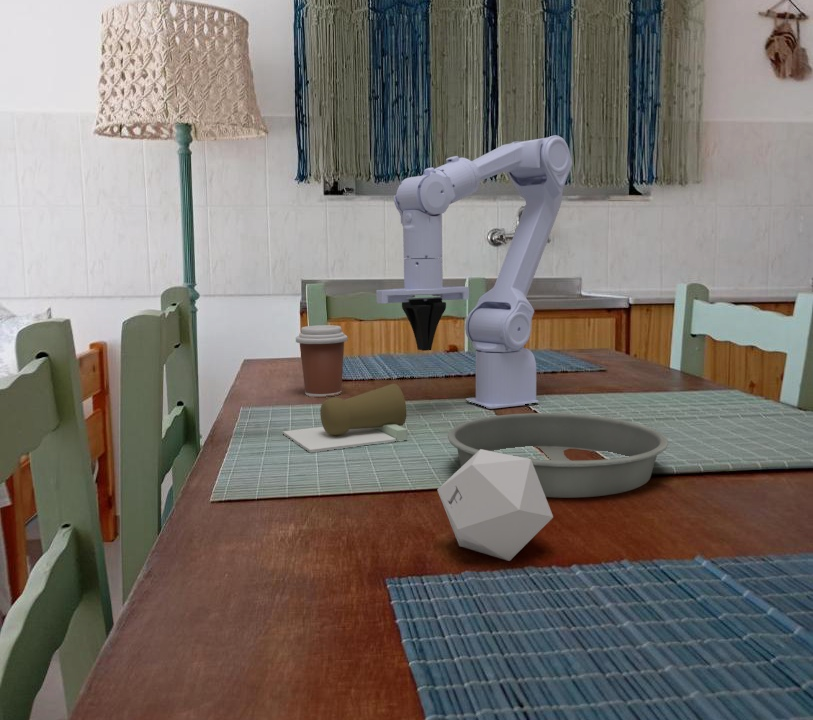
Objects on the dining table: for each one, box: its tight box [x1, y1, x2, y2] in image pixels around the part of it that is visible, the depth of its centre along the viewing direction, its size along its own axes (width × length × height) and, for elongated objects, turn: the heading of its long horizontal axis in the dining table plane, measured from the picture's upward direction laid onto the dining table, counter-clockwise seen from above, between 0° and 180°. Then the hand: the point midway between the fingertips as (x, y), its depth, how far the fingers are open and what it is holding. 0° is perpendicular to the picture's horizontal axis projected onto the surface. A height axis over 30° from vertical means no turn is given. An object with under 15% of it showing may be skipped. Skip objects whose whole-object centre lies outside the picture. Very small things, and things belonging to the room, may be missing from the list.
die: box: [437, 449, 554, 562], centre depth 69 cm, size 8×9×10 cm
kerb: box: [375, 424, 409, 442], centre depth 114 cm, size 2×12×2 cm, turn 25°
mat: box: [282, 426, 397, 454], centre depth 111 cm, size 12×12×1 cm
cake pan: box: [447, 412, 669, 499], centre depth 93 cm, size 25×25×4 cm
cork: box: [319, 383, 408, 436], centre depth 112 cm, size 6×6×11 cm
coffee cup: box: [295, 324, 348, 396], centre depth 144 cm, size 9×9×12 cm
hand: (424, 349), depth 122 cm, fingers closed
